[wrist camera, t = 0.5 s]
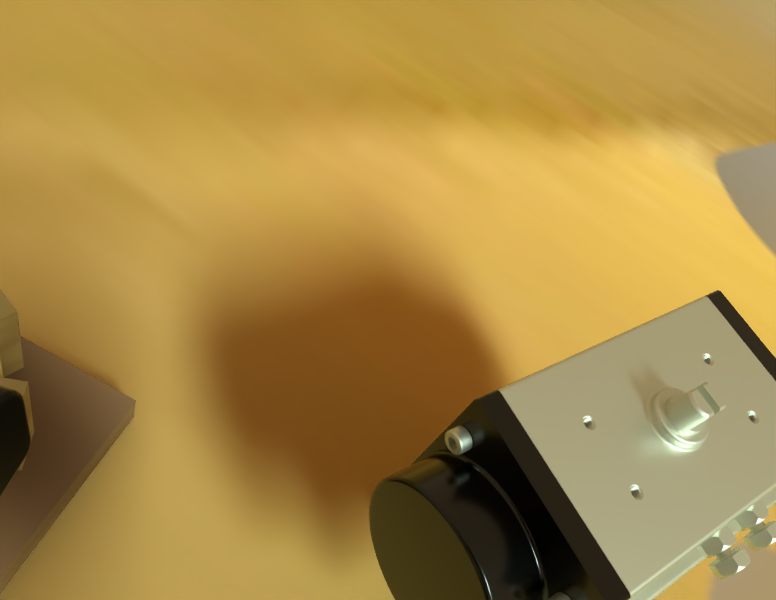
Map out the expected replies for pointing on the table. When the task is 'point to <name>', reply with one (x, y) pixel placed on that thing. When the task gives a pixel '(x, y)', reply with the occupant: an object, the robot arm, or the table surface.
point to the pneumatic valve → (595, 472)
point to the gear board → (50, 437)
